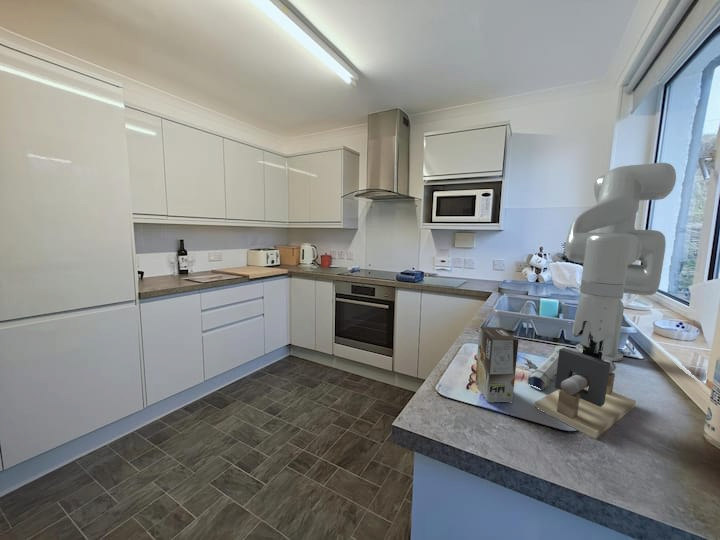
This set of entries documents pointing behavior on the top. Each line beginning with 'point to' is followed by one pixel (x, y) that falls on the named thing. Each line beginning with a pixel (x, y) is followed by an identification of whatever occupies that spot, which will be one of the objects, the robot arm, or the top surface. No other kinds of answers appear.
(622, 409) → the pipe rig
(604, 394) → the collar
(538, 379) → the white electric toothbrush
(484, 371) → the coffee box
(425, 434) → the top surface
